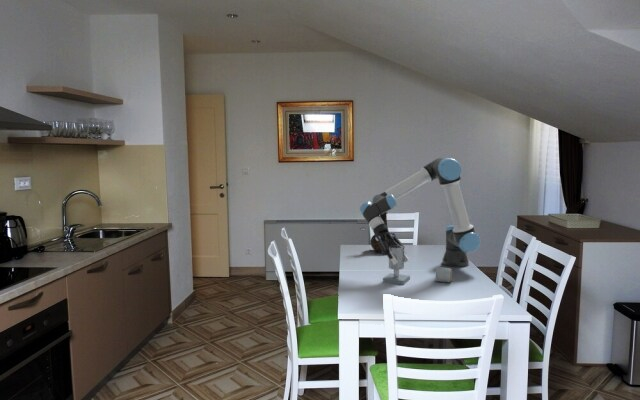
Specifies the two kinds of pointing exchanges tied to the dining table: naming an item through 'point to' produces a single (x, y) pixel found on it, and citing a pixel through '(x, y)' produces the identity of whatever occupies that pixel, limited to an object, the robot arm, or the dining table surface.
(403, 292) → the dining table surface
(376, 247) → the dark brown rounded piece
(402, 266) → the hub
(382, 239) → the robot arm
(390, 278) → the peg block
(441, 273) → the ceramic mug
